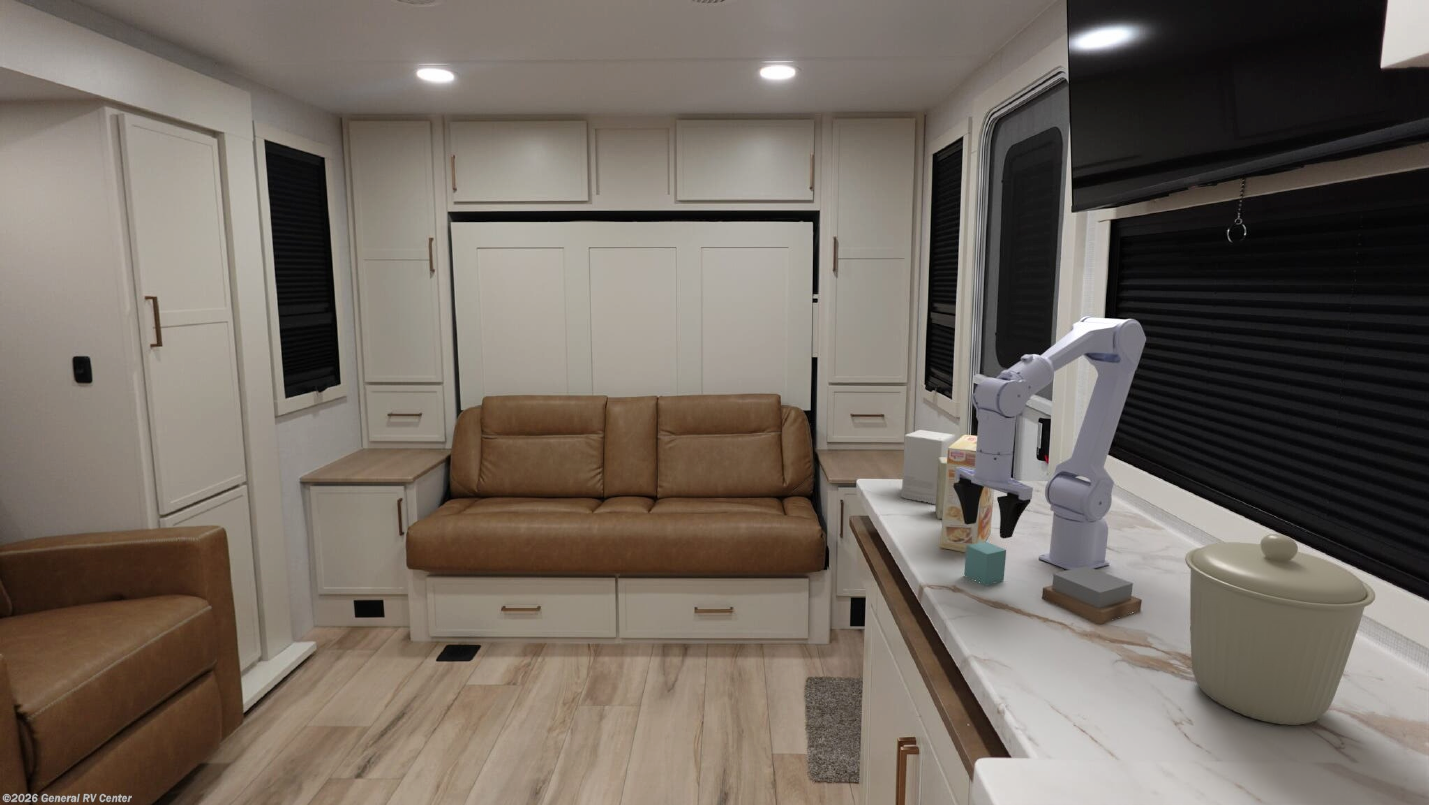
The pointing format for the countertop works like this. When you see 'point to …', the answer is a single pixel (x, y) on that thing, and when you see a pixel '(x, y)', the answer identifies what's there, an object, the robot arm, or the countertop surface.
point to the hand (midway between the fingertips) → (987, 530)
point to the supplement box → (923, 463)
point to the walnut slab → (1090, 611)
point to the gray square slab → (1092, 586)
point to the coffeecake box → (953, 524)
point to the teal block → (985, 563)
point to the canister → (1272, 627)
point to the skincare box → (940, 486)
